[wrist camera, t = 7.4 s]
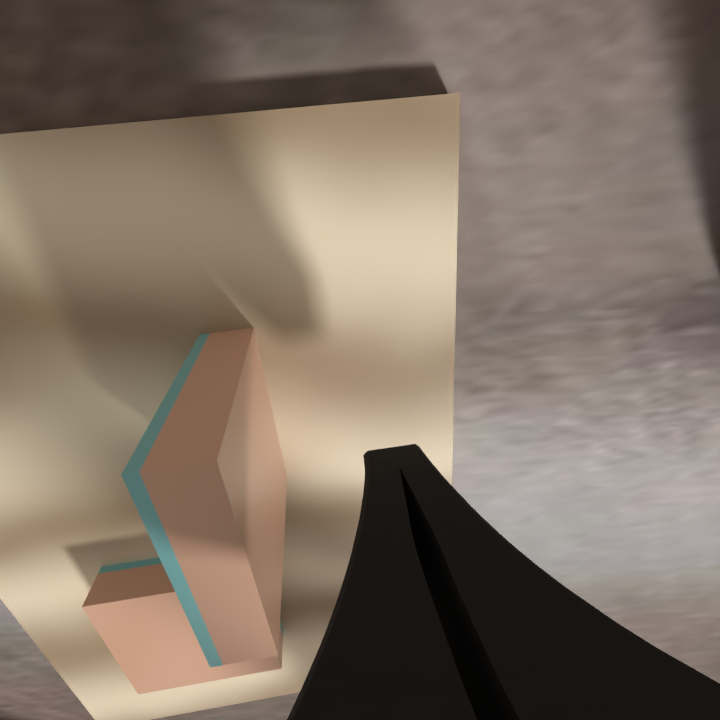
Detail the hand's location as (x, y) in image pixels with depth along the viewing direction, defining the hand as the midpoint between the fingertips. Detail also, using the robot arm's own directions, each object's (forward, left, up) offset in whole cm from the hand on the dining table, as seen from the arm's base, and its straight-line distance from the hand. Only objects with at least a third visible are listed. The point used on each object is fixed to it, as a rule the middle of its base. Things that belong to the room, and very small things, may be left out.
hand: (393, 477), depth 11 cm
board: (-5, +6, -5) cm, 9 cm away
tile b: (0, +4, -4) cm, 6 cm away
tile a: (-9, +5, -3) cm, 11 cm away
